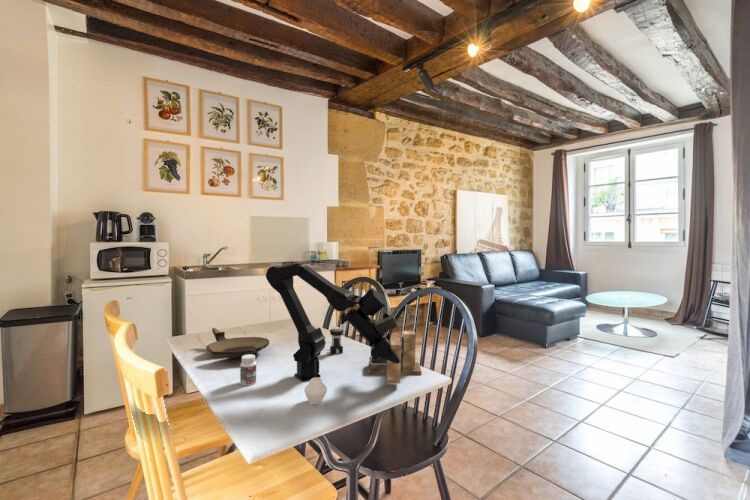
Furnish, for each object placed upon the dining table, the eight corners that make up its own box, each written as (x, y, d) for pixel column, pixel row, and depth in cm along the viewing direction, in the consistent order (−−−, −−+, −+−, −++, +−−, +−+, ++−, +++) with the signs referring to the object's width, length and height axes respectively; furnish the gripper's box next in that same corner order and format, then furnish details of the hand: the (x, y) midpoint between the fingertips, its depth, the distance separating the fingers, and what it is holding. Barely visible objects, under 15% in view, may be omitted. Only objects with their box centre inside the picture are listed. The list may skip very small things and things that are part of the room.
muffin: (327, 397, 102) (328, 373, 102) (325, 407, 96) (325, 382, 96) (306, 396, 102) (306, 373, 102) (302, 407, 96) (302, 381, 96)
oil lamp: (211, 371, 119) (211, 349, 119) (201, 347, 145) (201, 328, 144) (277, 360, 131) (277, 339, 131) (256, 339, 157) (257, 322, 156)
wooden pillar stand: (368, 373, 120) (369, 335, 119) (368, 365, 128) (369, 329, 127) (421, 374, 120) (422, 336, 119) (418, 365, 128) (419, 329, 127)
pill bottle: (248, 387, 108) (248, 360, 108) (236, 384, 110) (237, 357, 110) (259, 381, 112) (259, 355, 112) (248, 378, 114) (248, 353, 114)
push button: (328, 356, 136) (329, 330, 136) (324, 352, 141) (324, 327, 141) (344, 354, 139) (345, 328, 139) (340, 349, 144) (340, 325, 144)
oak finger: (387, 383, 109) (388, 344, 108) (386, 378, 113) (387, 340, 112) (402, 383, 109) (403, 345, 108) (401, 378, 113) (402, 341, 112)
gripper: (383, 313, 100) (421, 352, 101) (381, 301, 119) (413, 334, 120) (355, 340, 101) (392, 378, 101) (358, 323, 119) (389, 356, 120)
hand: (398, 360), depth 111 cm, fingers closed on oak finger, 4 cm apart
